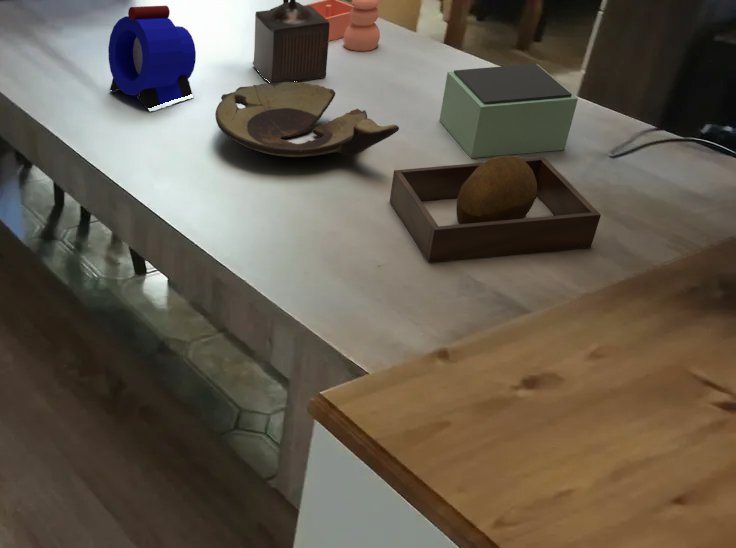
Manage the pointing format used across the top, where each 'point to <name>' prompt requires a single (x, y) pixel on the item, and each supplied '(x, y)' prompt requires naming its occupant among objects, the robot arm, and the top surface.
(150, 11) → the blue spotlight
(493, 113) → the stand
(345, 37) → the pottery
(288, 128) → the broken ceramic bowl
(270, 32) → the brown coffee grinder
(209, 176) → the top surface
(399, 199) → the tray
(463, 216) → the potato
